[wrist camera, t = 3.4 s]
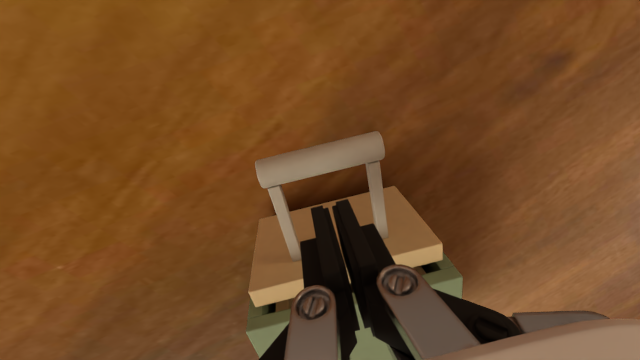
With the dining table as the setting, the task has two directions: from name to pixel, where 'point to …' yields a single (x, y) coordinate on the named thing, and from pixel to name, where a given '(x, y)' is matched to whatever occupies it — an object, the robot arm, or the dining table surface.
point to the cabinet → (369, 351)
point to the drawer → (295, 226)
